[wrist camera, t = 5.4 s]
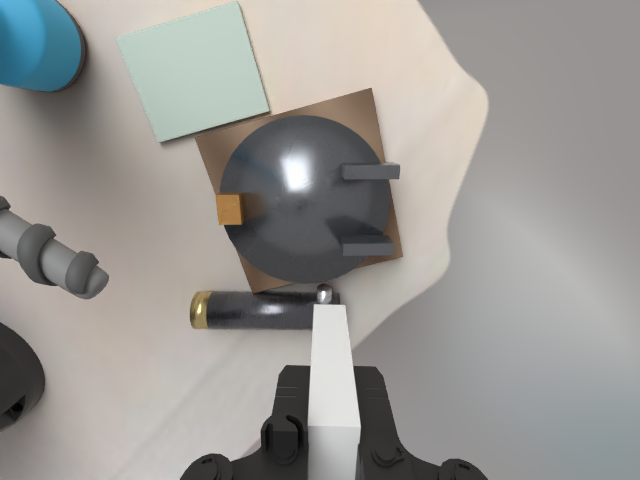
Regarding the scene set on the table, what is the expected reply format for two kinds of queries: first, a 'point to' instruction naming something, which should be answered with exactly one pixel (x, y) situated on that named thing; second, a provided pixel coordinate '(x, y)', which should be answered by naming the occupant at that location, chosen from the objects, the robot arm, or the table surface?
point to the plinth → (345, 110)
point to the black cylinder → (258, 309)
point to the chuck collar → (306, 199)
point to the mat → (195, 72)
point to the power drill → (49, 76)
